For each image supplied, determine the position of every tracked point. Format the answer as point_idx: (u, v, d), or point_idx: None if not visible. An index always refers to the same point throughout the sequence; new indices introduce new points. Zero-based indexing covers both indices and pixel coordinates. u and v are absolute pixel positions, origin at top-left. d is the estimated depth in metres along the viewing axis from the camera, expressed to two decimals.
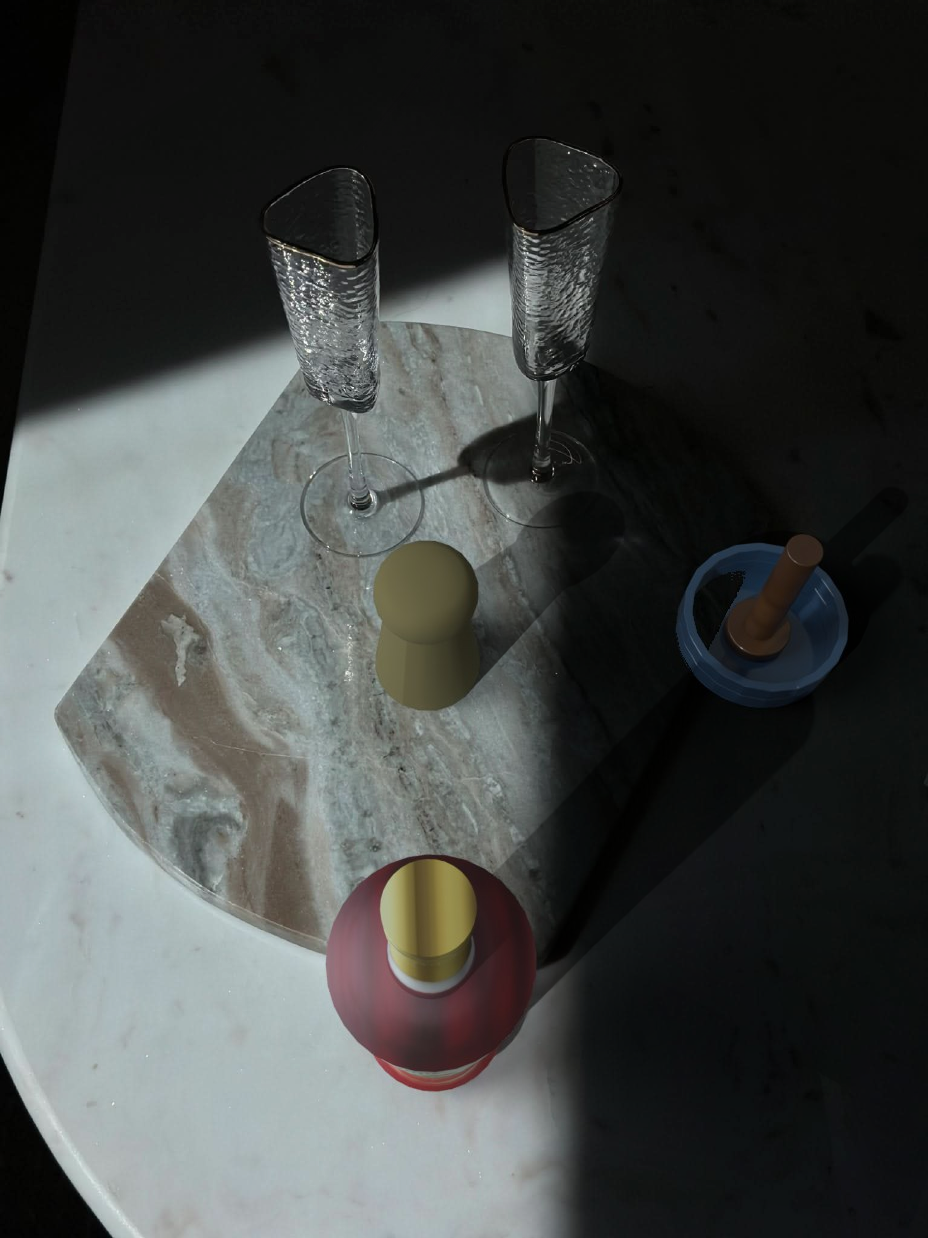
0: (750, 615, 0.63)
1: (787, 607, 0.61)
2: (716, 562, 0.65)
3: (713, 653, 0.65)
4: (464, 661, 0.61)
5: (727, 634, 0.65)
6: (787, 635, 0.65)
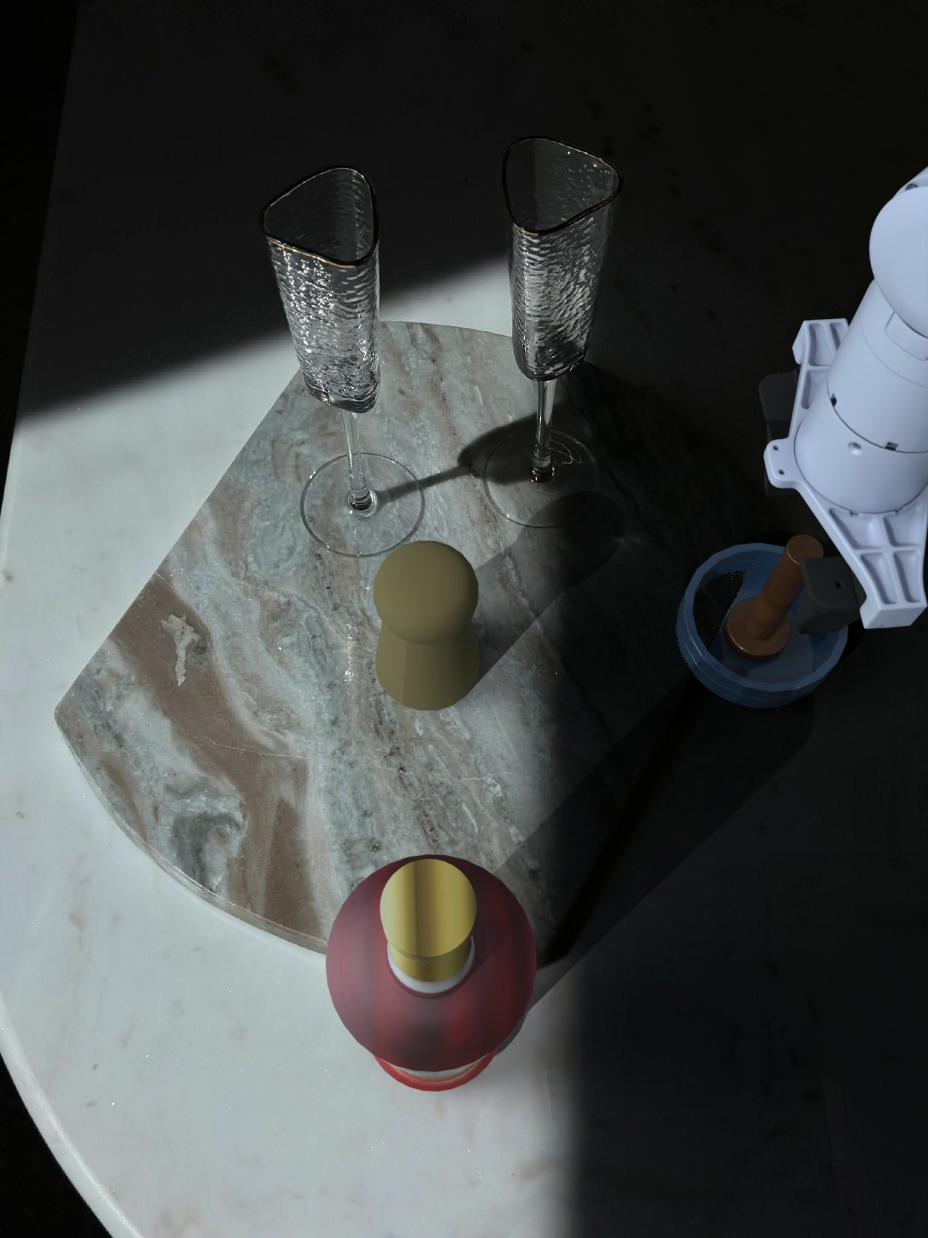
0: (750, 615, 0.63)
1: (787, 607, 0.61)
2: (716, 562, 0.65)
3: (713, 653, 0.65)
4: (464, 661, 0.61)
5: (727, 634, 0.65)
6: (787, 635, 0.65)
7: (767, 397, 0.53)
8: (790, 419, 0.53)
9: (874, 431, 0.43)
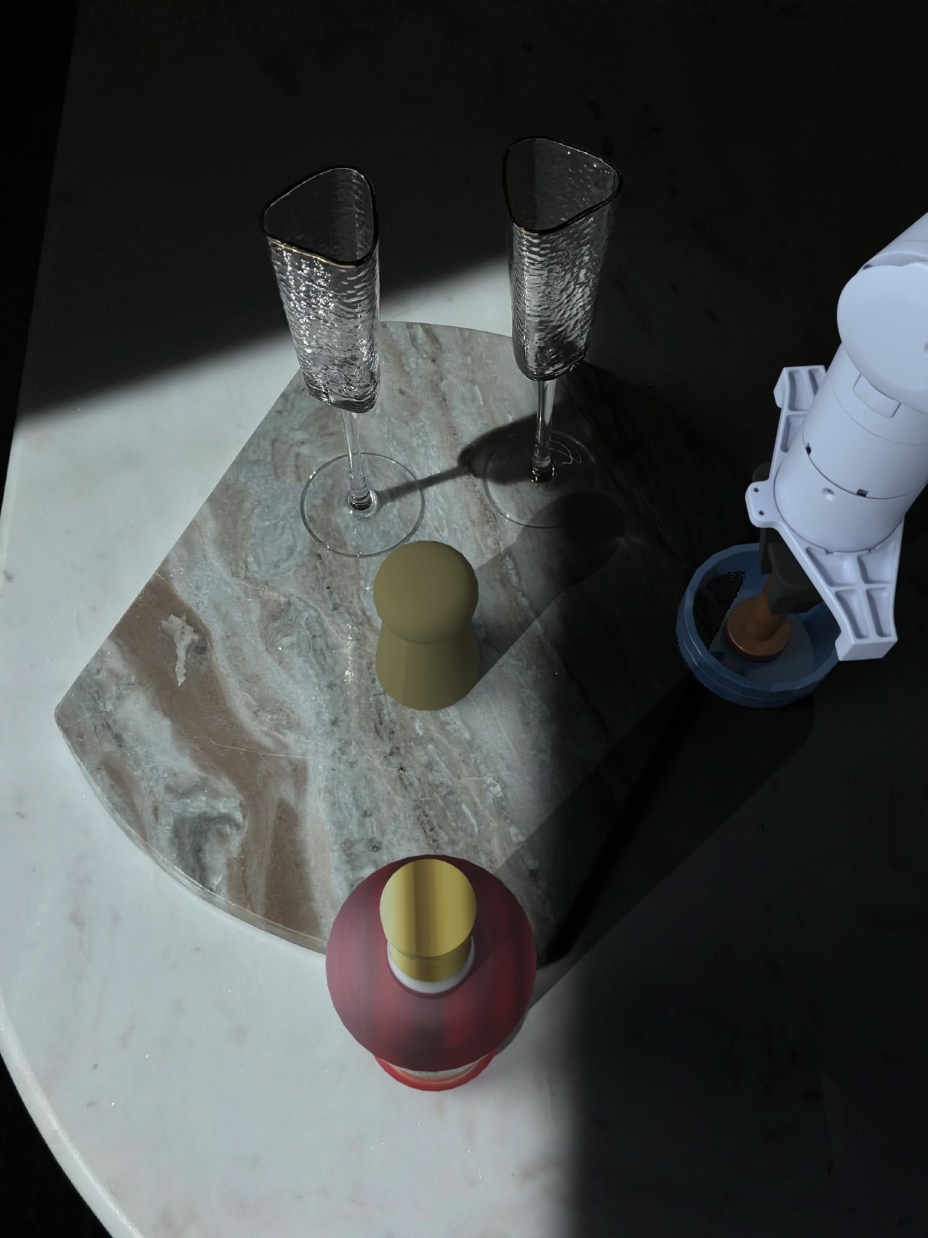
0: (750, 616, 0.63)
1: None
2: (716, 562, 0.65)
3: (713, 653, 0.65)
4: (464, 661, 0.61)
5: (727, 635, 0.65)
6: (787, 635, 0.65)
7: None
8: None
9: (846, 479, 0.46)
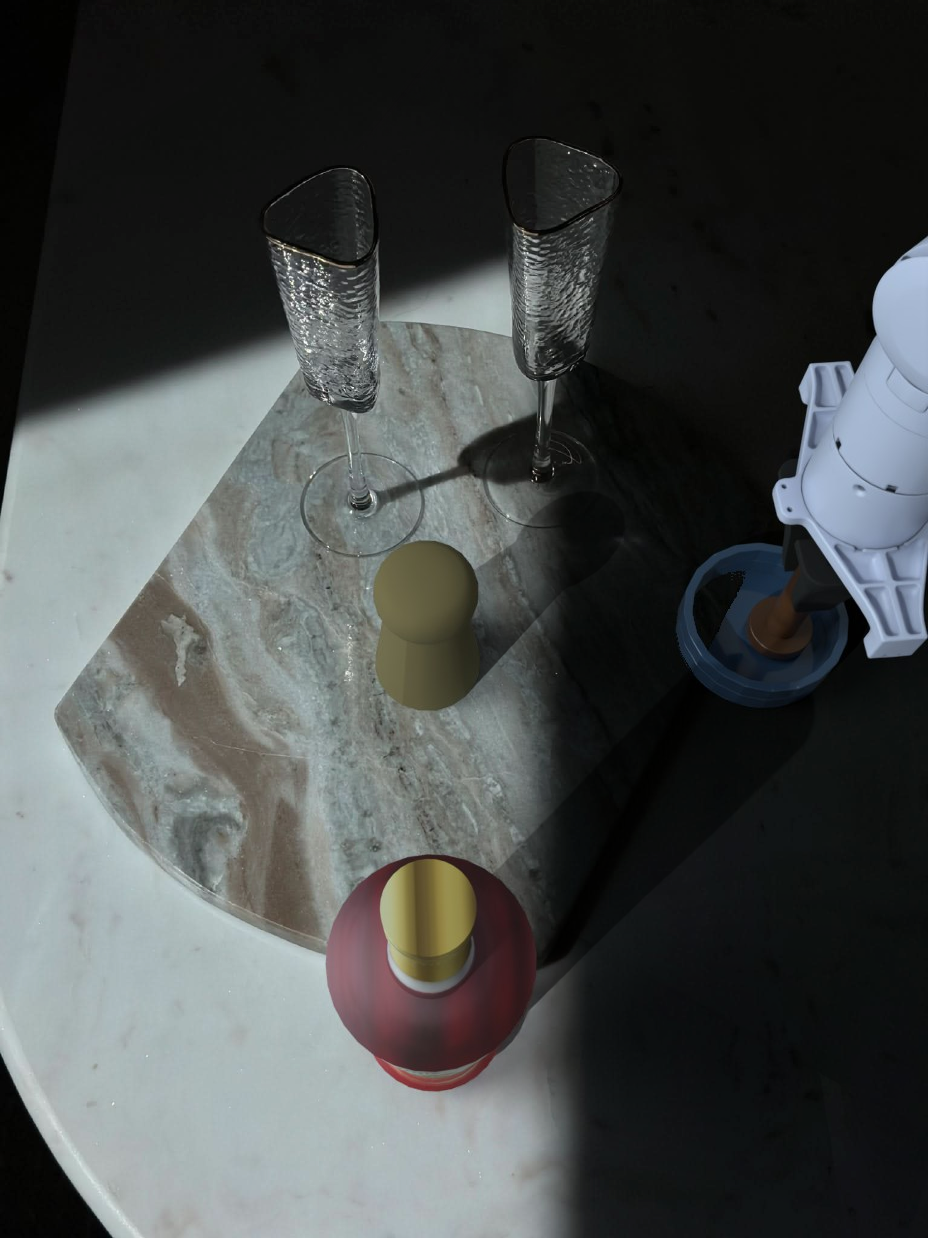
0: (773, 613, 0.63)
1: None
2: (716, 562, 0.65)
3: (713, 653, 0.65)
4: (464, 661, 0.61)
5: (748, 632, 0.65)
6: (809, 633, 0.64)
7: None
8: None
9: (875, 474, 0.46)
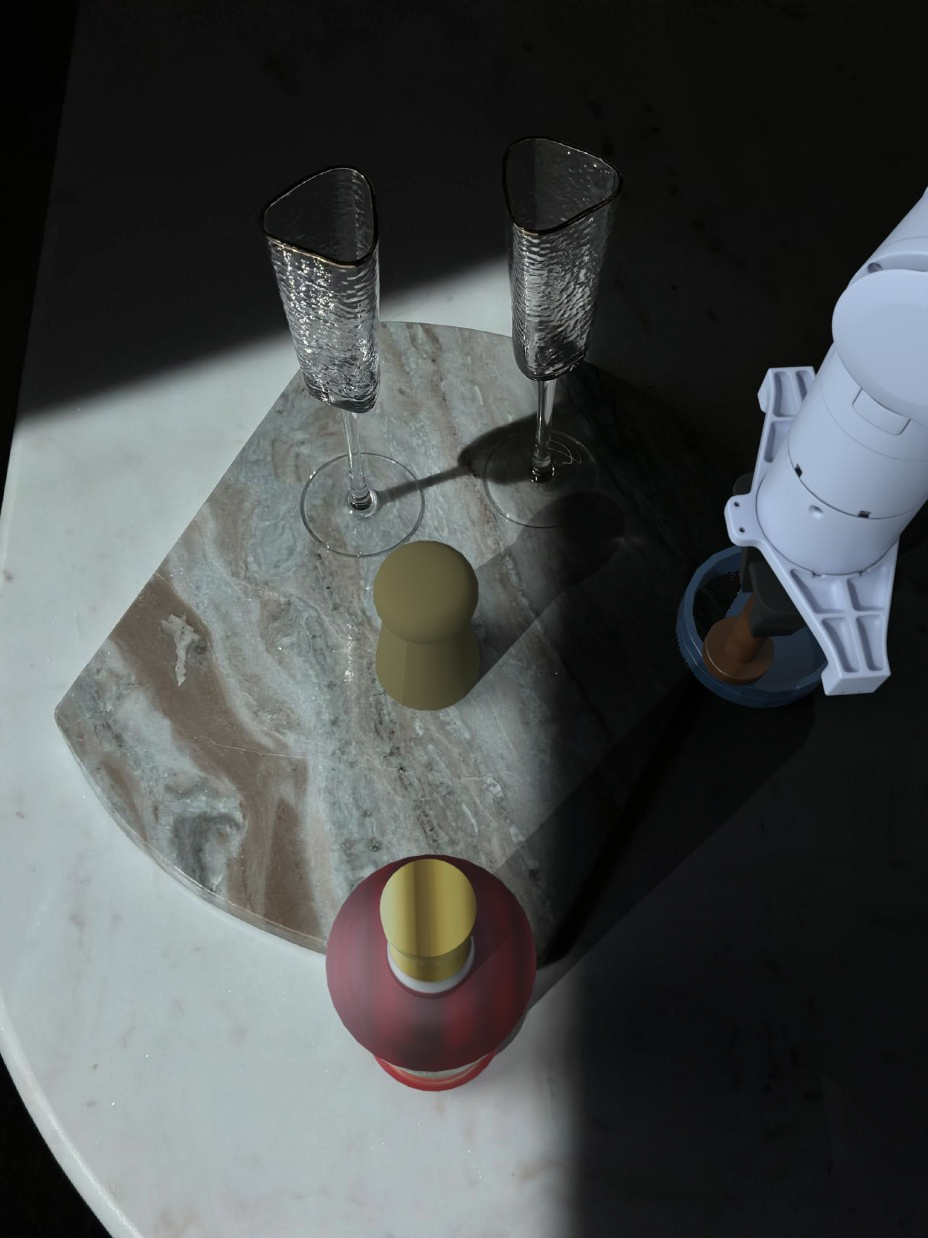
0: (730, 636, 0.58)
1: None
2: (716, 562, 0.65)
3: None
4: (464, 661, 0.61)
5: (705, 656, 0.60)
6: (770, 657, 0.60)
7: None
8: None
9: (845, 501, 0.41)
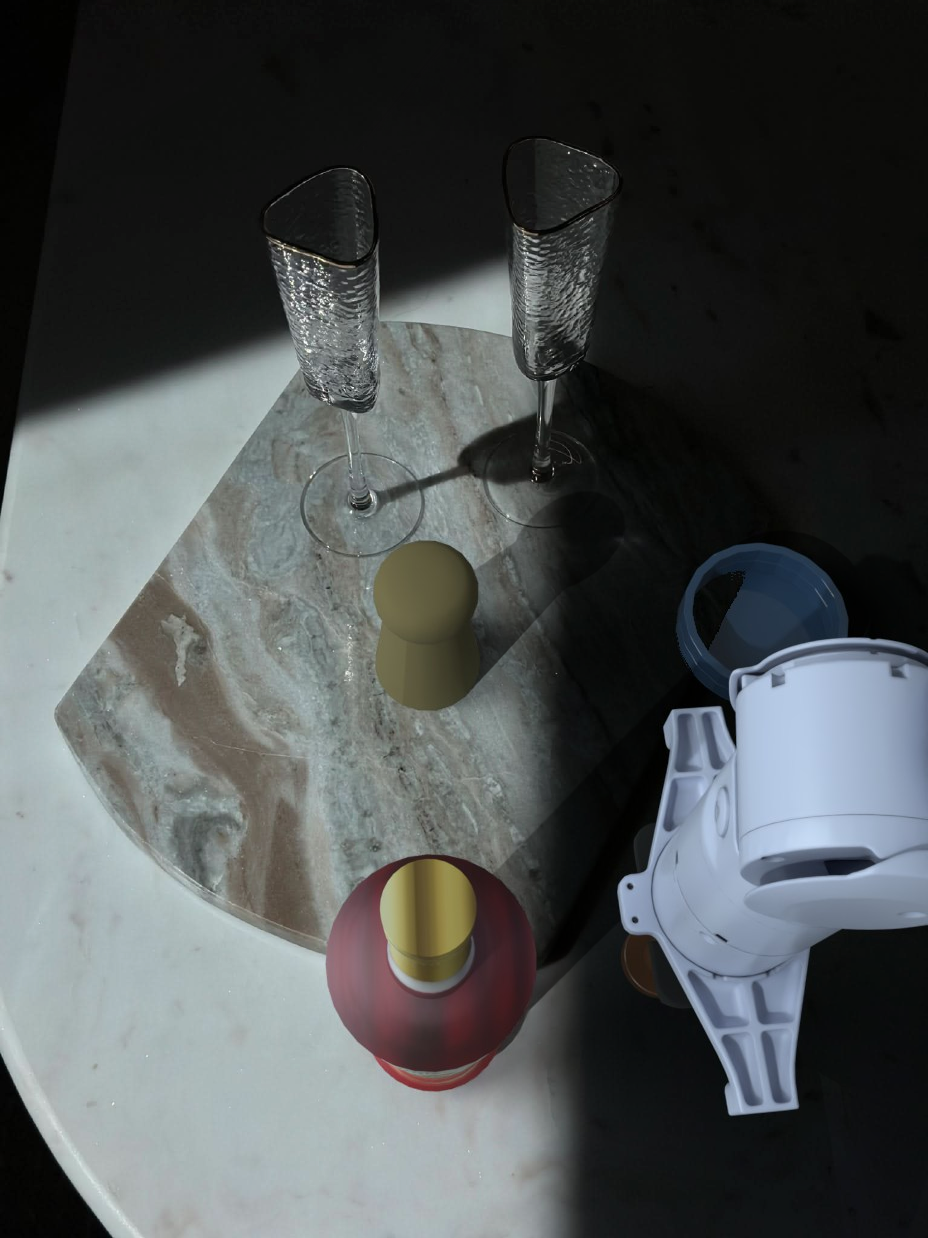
0: (648, 953, 0.53)
1: None
2: (716, 562, 0.65)
3: (713, 653, 0.65)
4: (464, 661, 0.61)
5: (624, 965, 0.55)
6: None
7: (643, 857, 0.45)
8: None
9: (790, 951, 0.36)
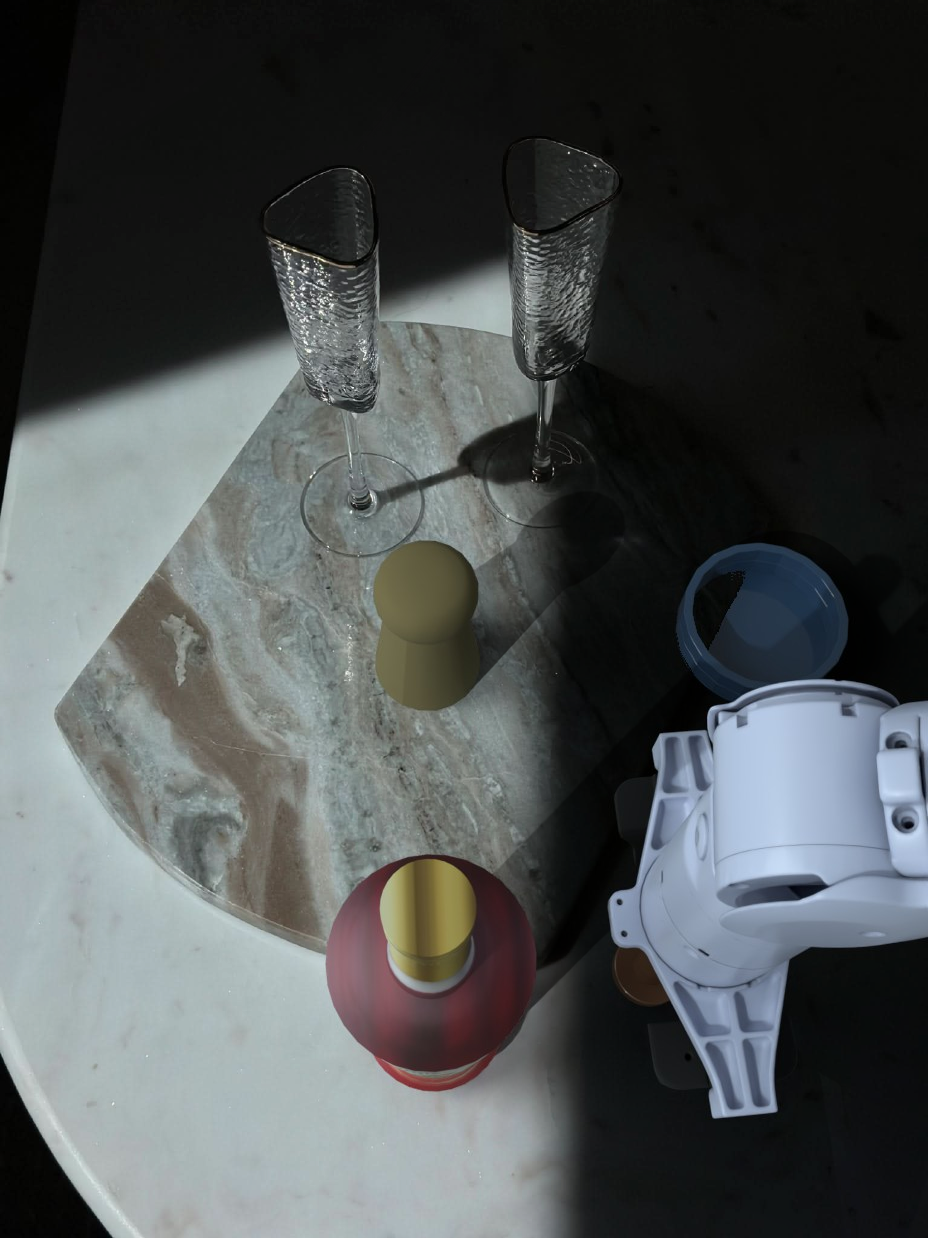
0: (637, 963, 0.56)
1: None
2: (716, 562, 0.65)
3: (713, 653, 0.65)
4: (464, 661, 0.61)
5: (614, 975, 0.58)
6: None
7: (623, 809, 0.48)
8: None
9: (768, 965, 0.38)
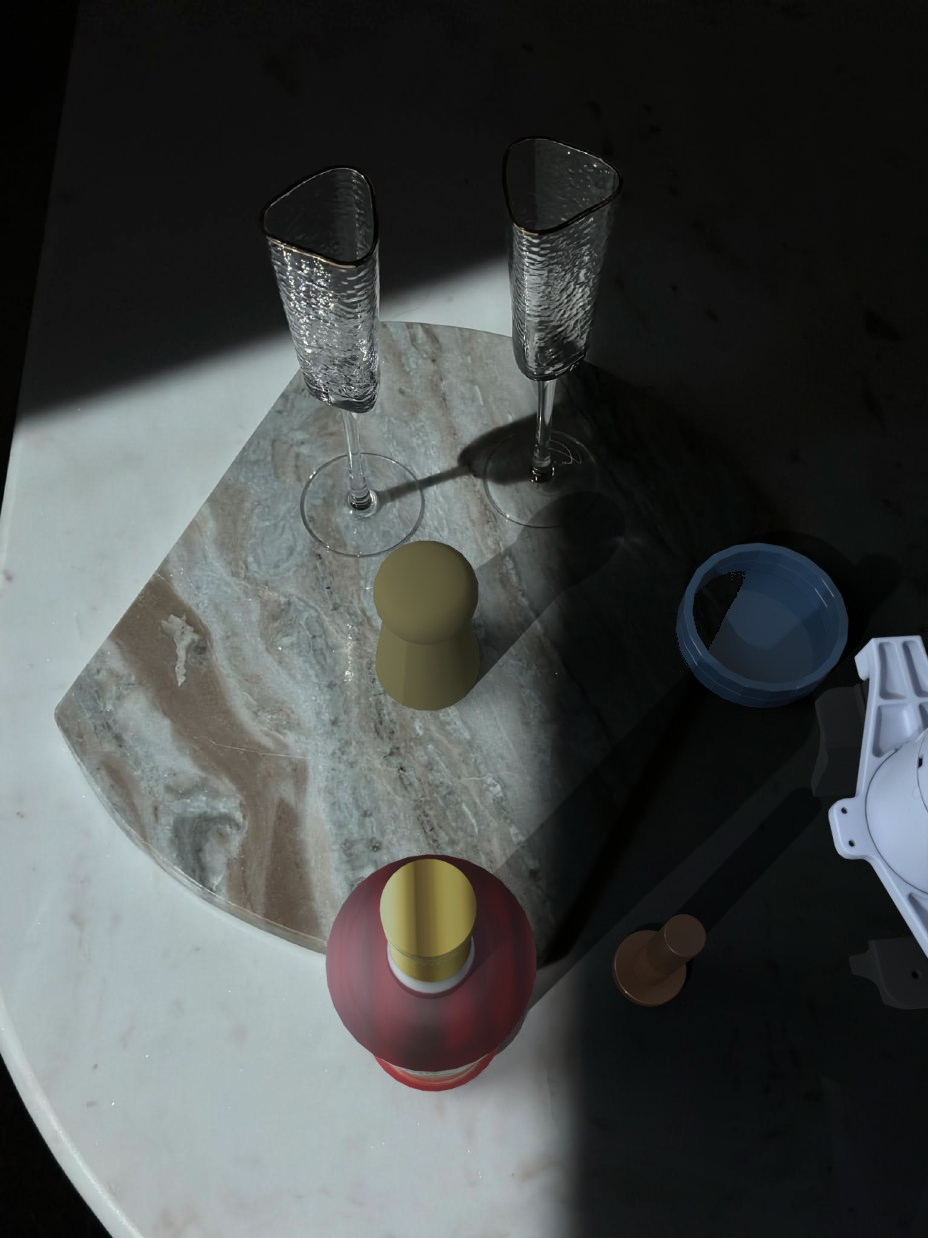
0: (637, 963, 0.56)
1: (674, 971, 0.53)
2: (716, 562, 0.65)
3: (713, 653, 0.65)
4: (464, 661, 0.61)
5: (614, 975, 0.58)
6: (681, 978, 0.57)
7: (826, 720, 0.46)
8: (852, 747, 0.45)
9: None
